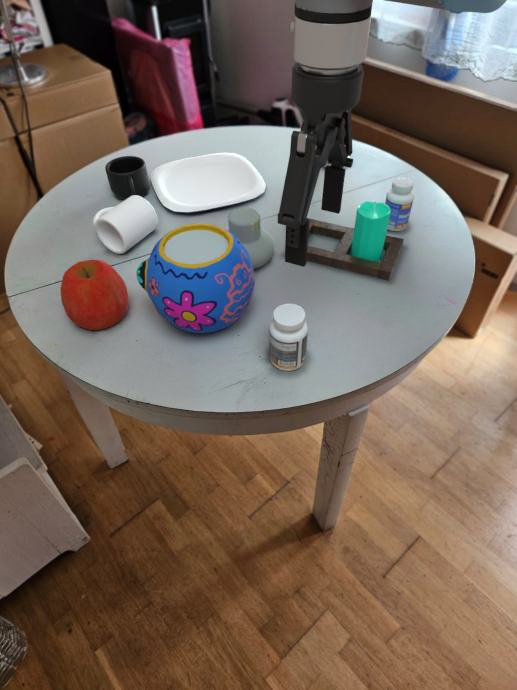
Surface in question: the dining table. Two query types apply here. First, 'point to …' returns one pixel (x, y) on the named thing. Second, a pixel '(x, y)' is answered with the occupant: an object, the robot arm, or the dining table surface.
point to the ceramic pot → (198, 277)
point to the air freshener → (251, 235)
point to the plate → (206, 182)
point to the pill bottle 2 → (399, 203)
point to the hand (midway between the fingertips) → (314, 235)
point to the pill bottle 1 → (288, 337)
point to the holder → (341, 254)
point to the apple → (94, 295)
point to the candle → (370, 230)
